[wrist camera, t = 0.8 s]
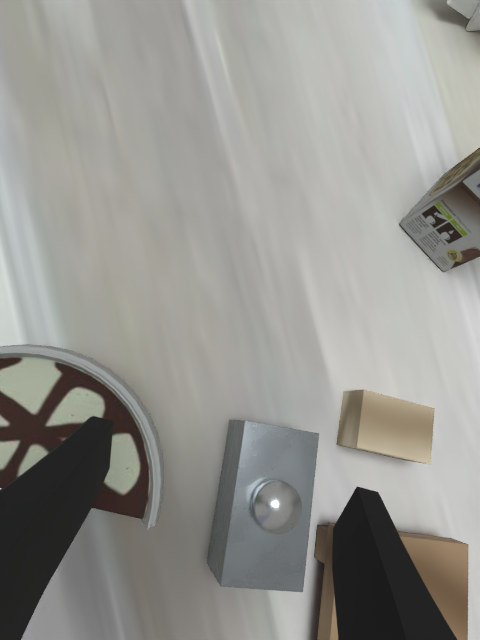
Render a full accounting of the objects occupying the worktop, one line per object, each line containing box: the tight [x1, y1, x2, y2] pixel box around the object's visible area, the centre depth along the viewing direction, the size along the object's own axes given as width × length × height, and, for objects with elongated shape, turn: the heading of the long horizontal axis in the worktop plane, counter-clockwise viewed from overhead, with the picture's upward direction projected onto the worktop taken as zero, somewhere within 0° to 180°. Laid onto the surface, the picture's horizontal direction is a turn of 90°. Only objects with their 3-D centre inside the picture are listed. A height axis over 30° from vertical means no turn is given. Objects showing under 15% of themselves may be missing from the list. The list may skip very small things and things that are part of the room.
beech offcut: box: [337, 390, 434, 464], centre depth 30 cm, size 4×6×3 cm, turn 79°
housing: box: [207, 420, 319, 592], centre depth 25 cm, size 9×5×5 cm, turn 171°
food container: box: [0, 344, 164, 529], centre depth 21 cm, size 12×6×10 cm, turn 75°
